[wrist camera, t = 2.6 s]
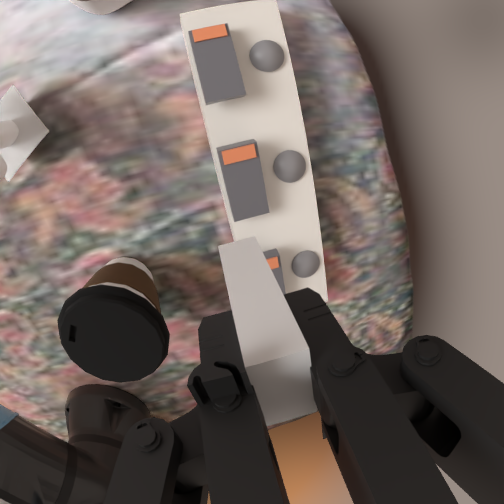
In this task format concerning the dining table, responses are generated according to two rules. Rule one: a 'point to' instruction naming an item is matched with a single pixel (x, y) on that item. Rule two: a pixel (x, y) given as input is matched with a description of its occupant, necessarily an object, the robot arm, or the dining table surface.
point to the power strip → (266, 137)
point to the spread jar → (100, 5)
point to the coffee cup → (116, 323)
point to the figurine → (17, 132)
